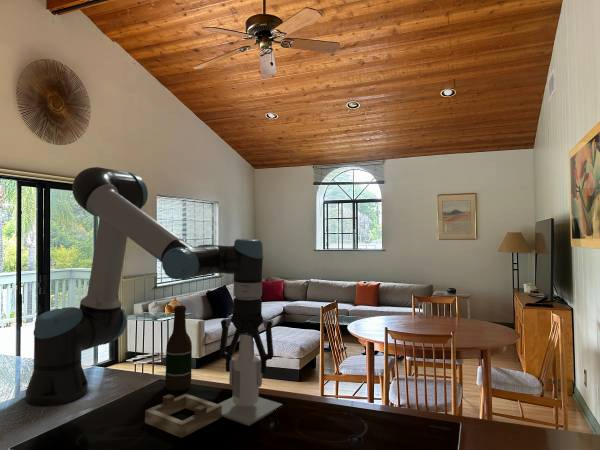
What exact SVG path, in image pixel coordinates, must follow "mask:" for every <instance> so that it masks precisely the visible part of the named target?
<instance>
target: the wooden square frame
mask: <svg viewBox="0 0 600 450" xmlns="http://www.w3.org/2000/svg"><path fill="white" fill-rule="evenodd" d="M218 404H219V403H215V402H212V401H209V400H206V399H203V398H200V397H197V396H194V395H191V394H189V393H184V394H182V395H179V396H177V397H175V395H172V394H169V393H168V394H166V395H164V396H162V403H160V404H158V405H155V406H152V407H150V408H148V409H146V410H144V423H145V424H146V425H149V426H152V427H154V428H157V429H159V430H162V431H163V432H166V433H169V434H172V435H173V436H176V437H179V438H181V439H182V438H185V437H186V436H188V435H190V434H192V433H194V432H196V431H198V430H200V429H202V428H205V427H206V426H208V425H209V424H211V423H213V422H216V421H218V420H220V419H221V418H223V417H222V406H221V405H218ZM184 409H187V410H189V411H193V412H194V415H191V416H189V417H187V418H185V419H183V420H181V419H179V418H178V417H177V418H176V417H174V416H172V415H173V414H175V413H177V412H180V411H182V410H184Z"/></svg>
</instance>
